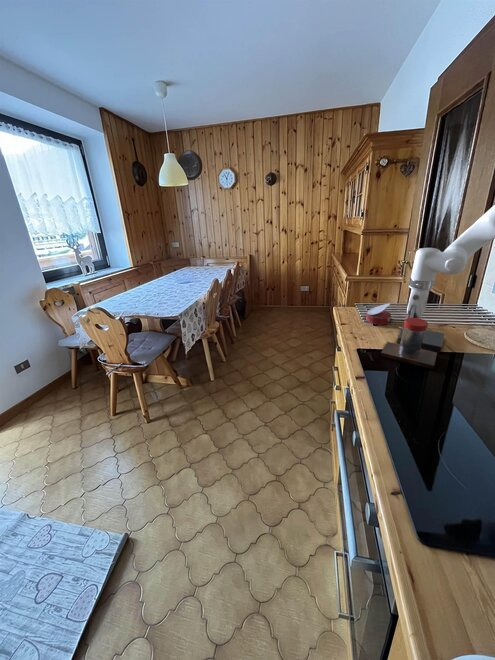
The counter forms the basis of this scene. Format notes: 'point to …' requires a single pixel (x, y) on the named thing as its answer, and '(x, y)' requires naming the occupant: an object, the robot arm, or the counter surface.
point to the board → (422, 360)
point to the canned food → (378, 315)
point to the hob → (429, 340)
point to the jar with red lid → (412, 337)
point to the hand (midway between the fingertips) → (411, 328)
